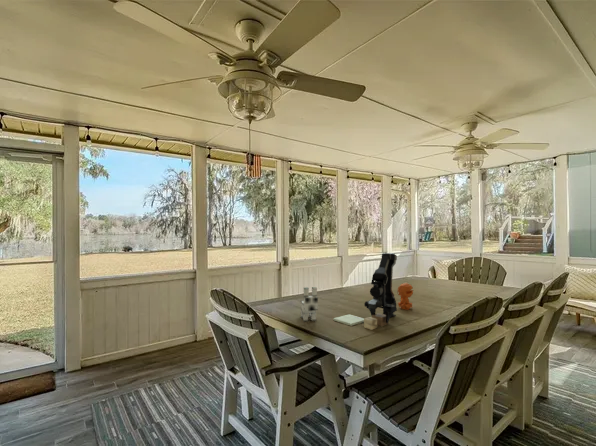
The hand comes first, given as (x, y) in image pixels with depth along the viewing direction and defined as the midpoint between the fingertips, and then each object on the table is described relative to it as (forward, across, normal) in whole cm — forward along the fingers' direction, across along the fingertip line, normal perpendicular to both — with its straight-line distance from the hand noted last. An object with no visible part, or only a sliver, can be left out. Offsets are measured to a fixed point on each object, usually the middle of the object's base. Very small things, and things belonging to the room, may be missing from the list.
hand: (380, 321), depth 180 cm
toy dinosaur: (+2, -10, +42) cm, 43 cm away
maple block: (+2, +1, -10) cm, 10 cm away
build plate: (+2, -15, -9) cm, 18 cm away
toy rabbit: (+2, -33, -26) cm, 42 cm away
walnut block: (+2, 0, 0) cm, 2 cm away
